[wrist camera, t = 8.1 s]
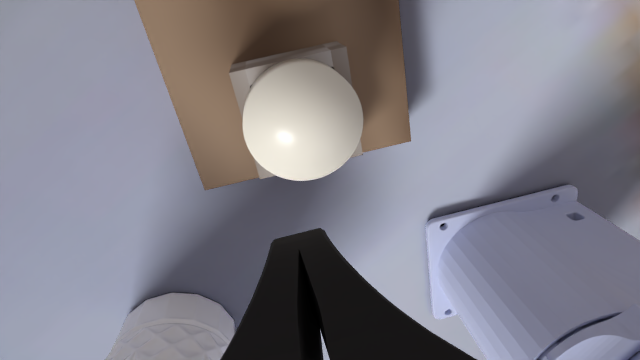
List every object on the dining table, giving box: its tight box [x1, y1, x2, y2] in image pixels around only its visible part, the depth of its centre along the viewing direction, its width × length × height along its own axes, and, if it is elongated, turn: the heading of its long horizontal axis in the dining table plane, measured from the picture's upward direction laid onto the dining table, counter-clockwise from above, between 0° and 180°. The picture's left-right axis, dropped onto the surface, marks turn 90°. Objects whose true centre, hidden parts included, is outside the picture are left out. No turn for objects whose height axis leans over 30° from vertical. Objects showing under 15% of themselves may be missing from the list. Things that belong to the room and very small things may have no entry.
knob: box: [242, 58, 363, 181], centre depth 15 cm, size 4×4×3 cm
